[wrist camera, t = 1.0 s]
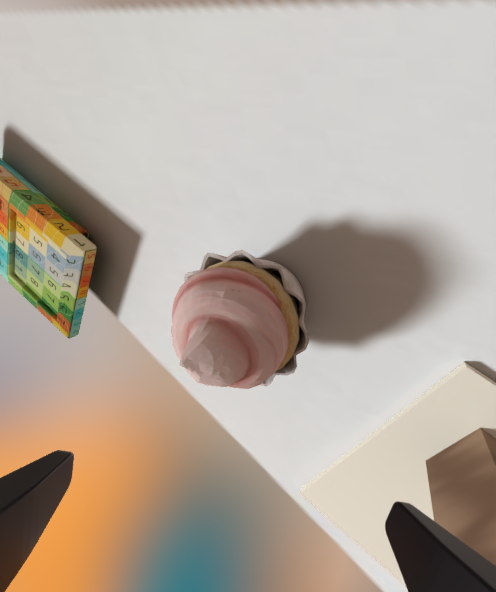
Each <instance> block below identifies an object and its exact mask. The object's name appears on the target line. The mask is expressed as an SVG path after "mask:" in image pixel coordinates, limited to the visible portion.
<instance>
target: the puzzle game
mask: <svg viewBox="0 0 496 592" xmlns="http://www.w3.org/2000/svg"><path fill="white" fill-rule="evenodd" d="M89 237H90V233H89V232H88V231H87V230H85V229H84V228H83V227H82V226H81V225H79V224H78V223H77V222H76V221H75V220H74V219H72V218H71V217H70V216H69V215H68V214H66V213H65V212H64V211H63V210H62V209H61V208H59V207H58V206H57V205H56V204H55V203H53V202H52V201H51V200H50V199H49V198H48V197H46V196H45V195H44V194H43V193H42V192H40V191H39V190H38V189H37V188H36V187H35V186H33V185H32V184H31V183H30V182H29V181H27V180H26V179H25V178H24V177H23V176H22V175H20V174H19V173H18V172H17V171H16V170H14V169H13V168H12V167H11V166H10V165H9V164H7V163H6V162H5V161H4V160H3V159H1V158H0V274H1V275H2V276H3V277H4V278H5V279H6V280H7V281H8V282H9V283H10V284H11V285H12V286H13V287H14V288H16V290H18V291H19V292H20V293H21V294H22V295H23V296H24V297H25V298H26V299H27V300H28V301H29V302H30V303H31V304H33V305H34V306H35V307H36V308H37V309H38V310H39V311H40V312H41V313H42V314H43V315H44V316H45V317H46V318H47V319H48V320H49V321H51V323H53V324H54V325H55V326H56V327H57V328H58V329H59V330H60V331H61V332H62V333H63V334H64V335H65V336H66V337H67V338H71V337H74V336H76V335H78V333H79V329H80V324H81V319H82V315H83V310H84V306H85V301H86V297H87V292H88V288H89V283H90V278H91V274H92V269H93V265H94V260H95V256H96V251H97V248H96V245H95V244H94V243H92V242H91V241H90V240H89Z"/></svg>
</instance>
